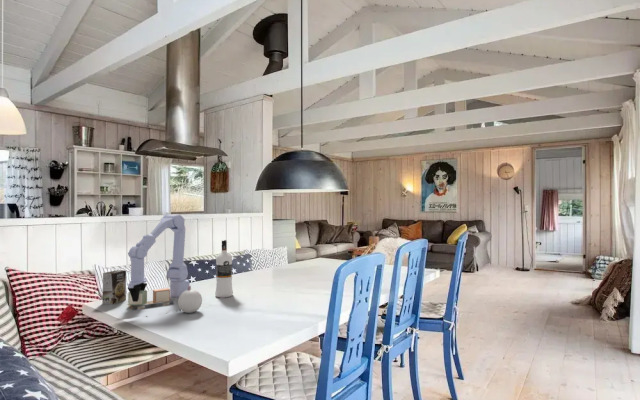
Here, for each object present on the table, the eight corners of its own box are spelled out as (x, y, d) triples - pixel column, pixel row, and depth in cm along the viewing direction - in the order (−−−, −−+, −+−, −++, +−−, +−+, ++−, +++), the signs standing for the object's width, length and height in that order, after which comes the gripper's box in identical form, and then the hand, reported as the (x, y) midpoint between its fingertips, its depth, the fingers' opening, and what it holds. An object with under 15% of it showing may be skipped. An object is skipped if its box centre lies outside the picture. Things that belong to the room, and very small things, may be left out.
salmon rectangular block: (152, 302, 189) (153, 289, 189) (167, 299, 193) (167, 287, 193) (155, 303, 185) (155, 291, 186) (170, 301, 190) (170, 289, 190)
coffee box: (113, 306, 185) (113, 273, 185) (101, 306, 186) (102, 272, 186) (126, 302, 194) (126, 270, 194) (115, 301, 195) (115, 269, 195)
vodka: (231, 293, 212) (231, 239, 213) (234, 297, 203) (234, 240, 204) (214, 294, 209) (214, 239, 209) (216, 298, 200) (216, 241, 201)
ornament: (177, 310, 177) (177, 284, 177) (200, 308, 181) (200, 282, 181) (178, 316, 168) (178, 289, 168) (203, 313, 172) (203, 287, 172)
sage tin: (132, 303, 184) (132, 290, 184) (146, 302, 185) (146, 290, 185) (128, 305, 180) (128, 292, 180) (143, 305, 180) (143, 292, 180)
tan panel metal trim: (166, 301, 195) (166, 295, 195) (173, 306, 185) (173, 300, 185) (127, 307, 184) (127, 301, 184) (132, 312, 174) (132, 306, 174)
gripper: (139, 274, 175) (139, 303, 175) (152, 268, 190) (152, 296, 190) (123, 274, 175) (123, 304, 175) (137, 269, 190) (137, 296, 190)
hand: (137, 300), depth 182 cm, fingers closed on sage tin, 4 cm apart
